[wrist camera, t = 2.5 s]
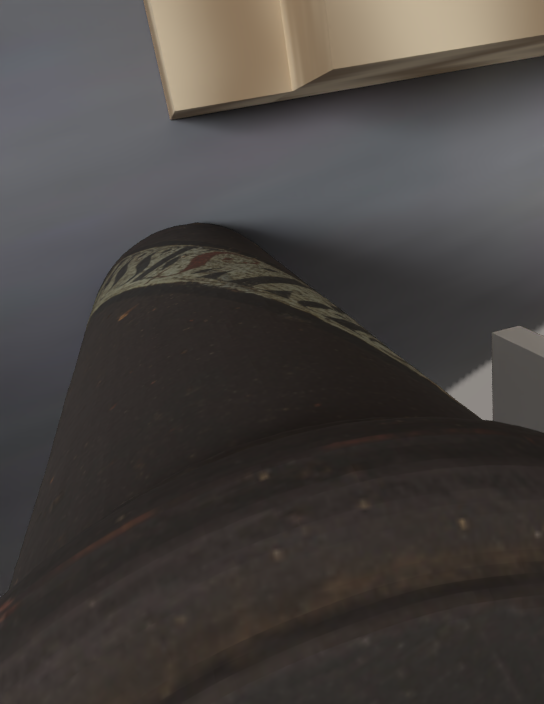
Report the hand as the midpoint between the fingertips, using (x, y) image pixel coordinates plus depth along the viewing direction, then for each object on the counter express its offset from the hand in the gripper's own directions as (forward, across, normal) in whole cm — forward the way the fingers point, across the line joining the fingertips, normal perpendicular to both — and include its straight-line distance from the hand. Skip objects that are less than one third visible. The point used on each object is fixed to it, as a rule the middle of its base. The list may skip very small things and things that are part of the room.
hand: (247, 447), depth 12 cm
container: (+11, 0, 0) cm, 11 cm away
